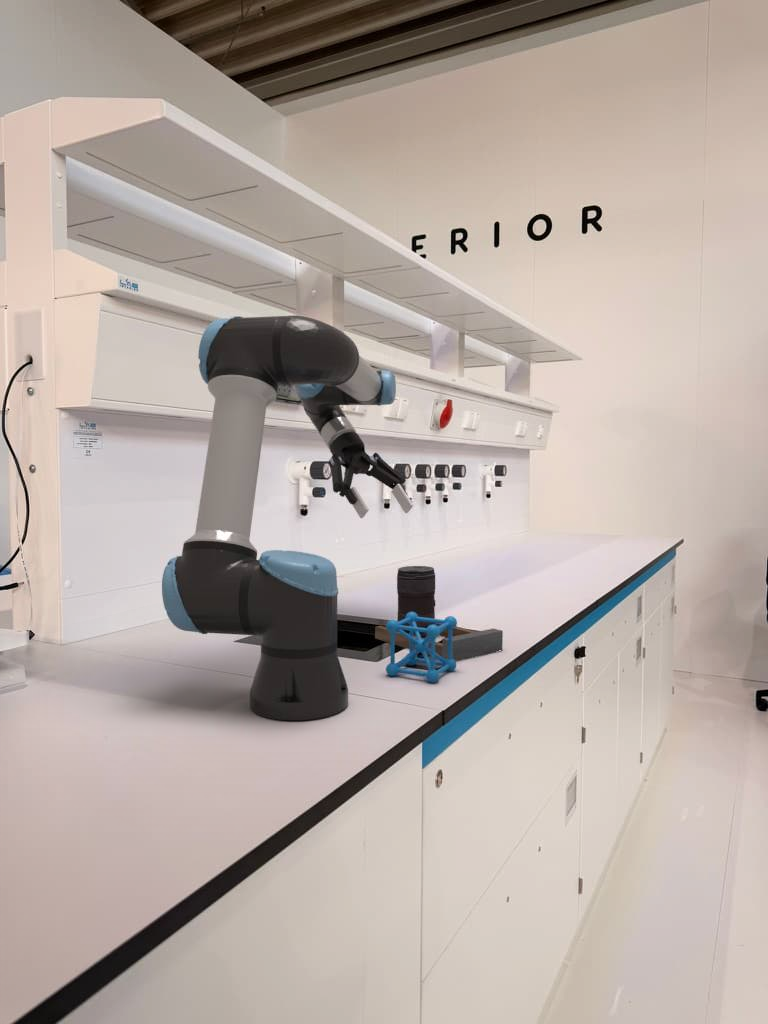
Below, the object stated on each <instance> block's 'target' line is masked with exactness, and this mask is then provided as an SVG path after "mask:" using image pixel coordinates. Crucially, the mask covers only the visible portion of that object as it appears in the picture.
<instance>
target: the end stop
mask: <svg viewBox="0 0 768 1024" xmlns="http://www.w3.org/2000/svg"><path fill="white" fill-rule="evenodd" d="M503 635H504V634H503V630H502V629H497V628H489V629H485V630H479V631H476V632H473V633H468V634H463V635H458V636H453V637H452V659H454V660H455V661H456V662H459V661H463V659H464V660H468V659H472V657H473V658H476V656H477V657H481V656H485V654H486V655H488V654H489V653H490V654H493V653H492V652H494V653H497V652H496V651H499V650H502V651H503ZM441 643H442V657H443V658H444V659H448V638H446V637H443V638H442V639H441ZM499 652H500V651H499Z"/></svg>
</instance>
